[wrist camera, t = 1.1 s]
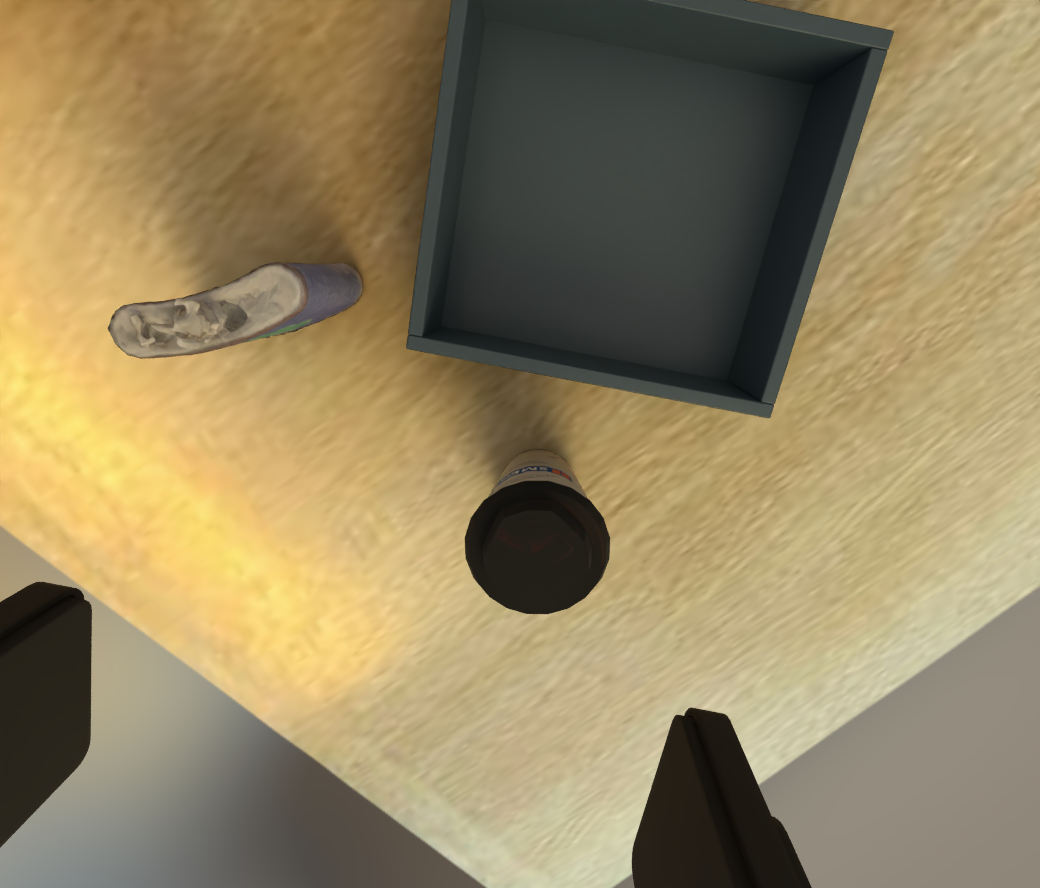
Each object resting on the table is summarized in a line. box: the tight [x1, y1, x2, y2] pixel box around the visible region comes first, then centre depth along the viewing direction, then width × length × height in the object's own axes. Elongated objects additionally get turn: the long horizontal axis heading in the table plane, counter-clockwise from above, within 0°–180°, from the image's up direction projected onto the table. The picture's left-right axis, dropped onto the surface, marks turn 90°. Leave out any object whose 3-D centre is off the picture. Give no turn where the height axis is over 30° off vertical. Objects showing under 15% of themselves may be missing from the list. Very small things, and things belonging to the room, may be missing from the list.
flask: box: [108, 263, 363, 359], centre depth 29 cm, size 9×3×11 cm, turn 105°
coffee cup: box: [465, 450, 610, 614], centre depth 32 cm, size 7×7×10 cm
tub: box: [406, 0, 894, 418], centre depth 29 cm, size 16×18×6 cm
